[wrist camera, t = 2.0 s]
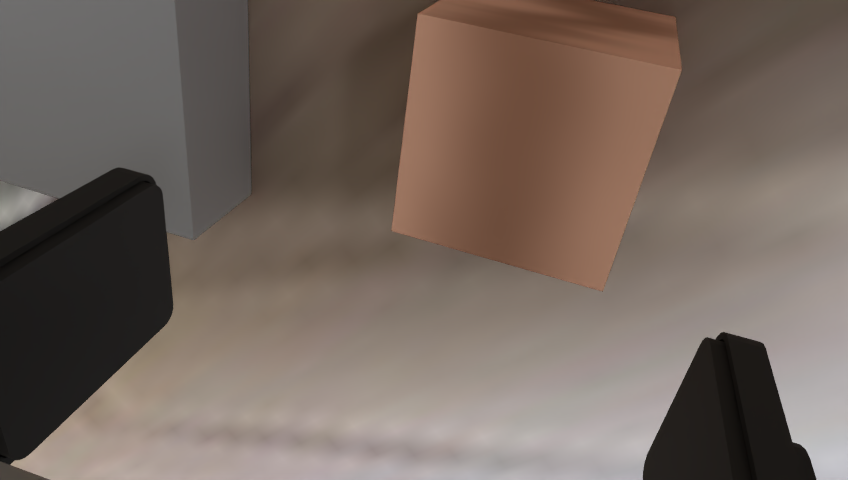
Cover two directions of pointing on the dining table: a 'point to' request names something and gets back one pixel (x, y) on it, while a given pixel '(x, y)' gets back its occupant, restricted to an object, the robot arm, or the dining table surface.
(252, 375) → the dining table surface
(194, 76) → the gray block
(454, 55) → the terracotta cube
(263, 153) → the dining table surface
